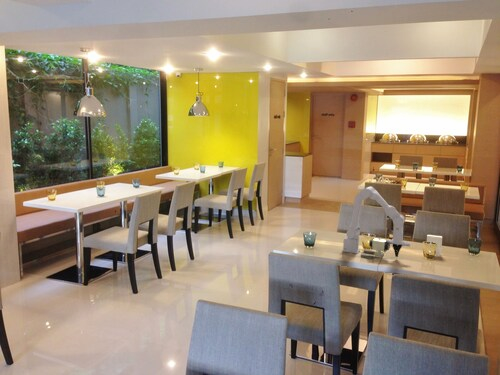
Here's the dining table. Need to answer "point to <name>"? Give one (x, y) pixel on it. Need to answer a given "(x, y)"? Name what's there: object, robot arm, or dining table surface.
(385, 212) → the robot arm
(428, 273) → the dining table surface
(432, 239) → the base with upright slab
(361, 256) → the guide rails
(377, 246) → the pneumatic valve
